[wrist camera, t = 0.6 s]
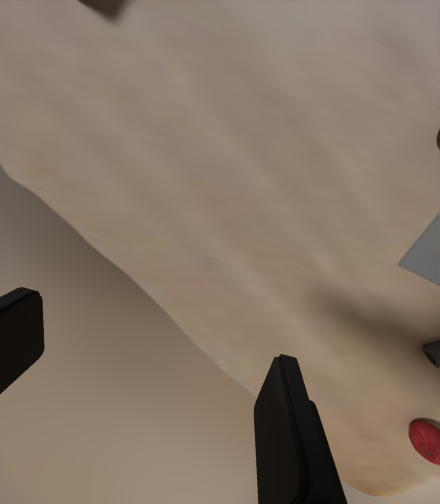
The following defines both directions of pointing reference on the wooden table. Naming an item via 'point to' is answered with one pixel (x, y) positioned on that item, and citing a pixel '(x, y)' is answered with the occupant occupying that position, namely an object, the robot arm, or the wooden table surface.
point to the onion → (426, 440)
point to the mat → (425, 254)
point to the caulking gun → (433, 353)
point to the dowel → (438, 139)
